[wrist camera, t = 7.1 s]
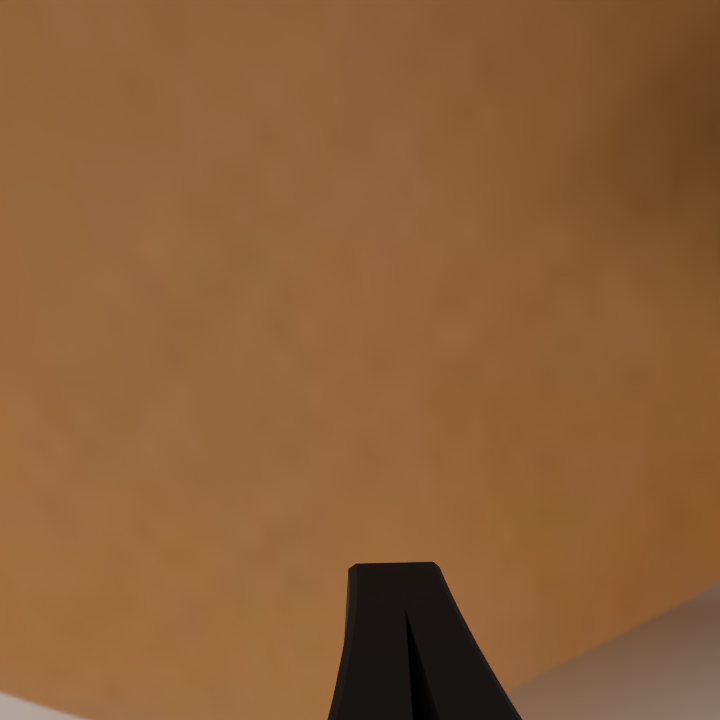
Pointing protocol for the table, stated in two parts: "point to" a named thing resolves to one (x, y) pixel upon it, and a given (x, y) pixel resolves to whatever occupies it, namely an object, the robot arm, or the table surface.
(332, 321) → the table surface
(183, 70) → the table surface
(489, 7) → the table surface
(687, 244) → the table surface
